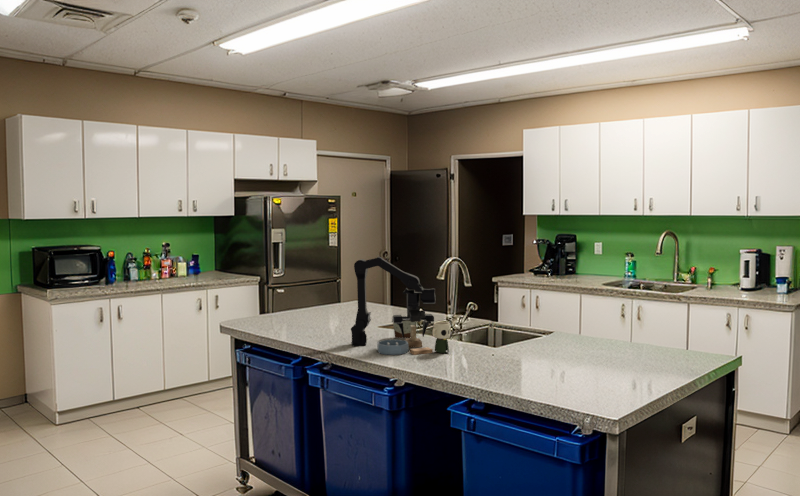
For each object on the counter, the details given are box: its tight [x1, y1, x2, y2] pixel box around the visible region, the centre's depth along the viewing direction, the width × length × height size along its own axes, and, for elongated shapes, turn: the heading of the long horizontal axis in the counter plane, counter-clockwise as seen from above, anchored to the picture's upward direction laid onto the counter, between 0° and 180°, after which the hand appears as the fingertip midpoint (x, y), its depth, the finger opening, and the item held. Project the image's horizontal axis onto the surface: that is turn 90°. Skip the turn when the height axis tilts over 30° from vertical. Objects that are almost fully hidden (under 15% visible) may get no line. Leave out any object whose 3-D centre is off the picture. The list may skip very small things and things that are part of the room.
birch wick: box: [410, 324, 417, 342], centre depth 281 cm, size 2×4×9 cm, turn 8°
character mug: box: [432, 321, 452, 354], centre depth 266 cm, size 11×7×13 cm, turn 132°
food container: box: [391, 315, 418, 339], centre depth 300 cm, size 12×6×10 cm, turn 84°
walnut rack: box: [404, 337, 423, 349], centre depth 281 cm, size 7×8×2 cm
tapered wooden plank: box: [409, 346, 434, 356], centre depth 266 cm, size 9×4×2 cm, turn 114°
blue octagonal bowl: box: [376, 338, 410, 356], centre depth 269 cm, size 13×13×4 cm
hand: (413, 336), depth 281 cm, fingers open, 9 cm apart
